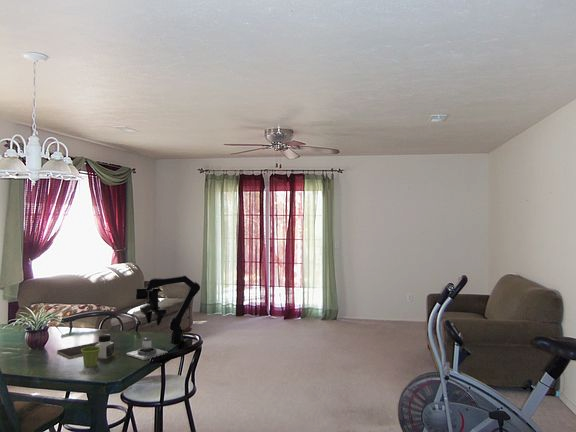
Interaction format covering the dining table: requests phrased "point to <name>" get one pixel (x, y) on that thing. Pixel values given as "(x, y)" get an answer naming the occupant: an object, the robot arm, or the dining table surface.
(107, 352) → the medicine bottle
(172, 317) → the robot arm
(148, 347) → the duct coupling
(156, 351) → the plate
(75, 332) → the dining table surface
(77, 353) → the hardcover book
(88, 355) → the plant pot
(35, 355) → the dining table surface
